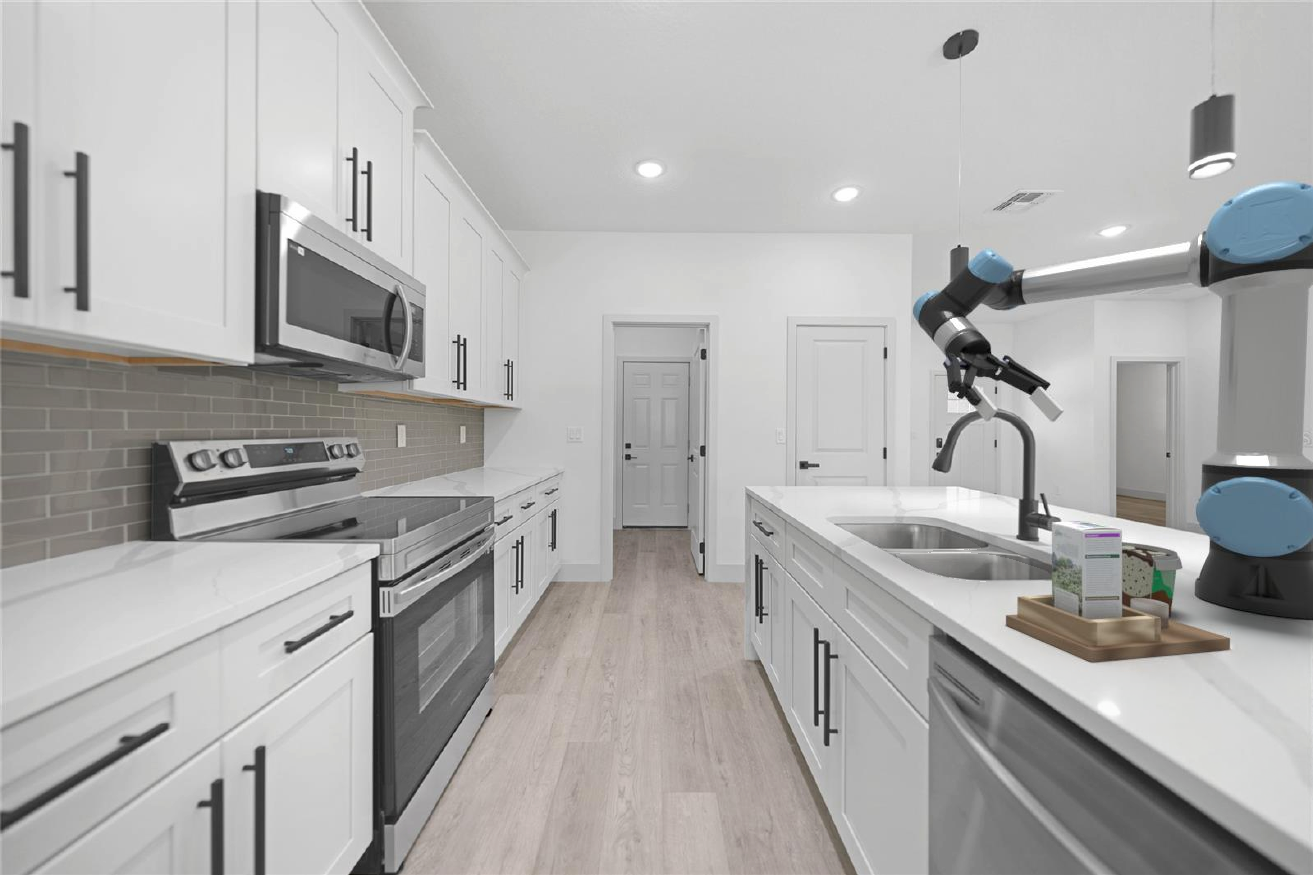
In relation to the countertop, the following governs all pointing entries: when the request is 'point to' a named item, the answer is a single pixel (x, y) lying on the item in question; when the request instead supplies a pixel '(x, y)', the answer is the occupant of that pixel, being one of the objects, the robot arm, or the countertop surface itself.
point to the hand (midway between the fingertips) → (1025, 416)
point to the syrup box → (1087, 569)
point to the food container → (1148, 573)
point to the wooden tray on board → (1113, 631)
